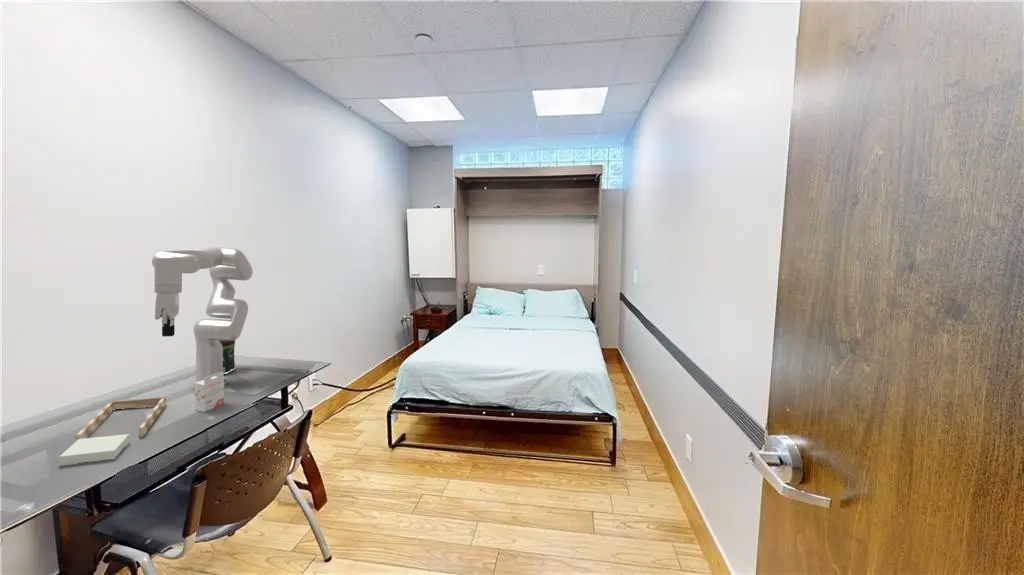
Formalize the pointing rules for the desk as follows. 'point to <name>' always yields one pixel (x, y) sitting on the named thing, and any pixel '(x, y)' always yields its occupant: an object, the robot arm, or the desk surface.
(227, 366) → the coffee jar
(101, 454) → the cover plate
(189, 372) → the desk surface
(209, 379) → the ink cartridge box
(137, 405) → the wooden frame
